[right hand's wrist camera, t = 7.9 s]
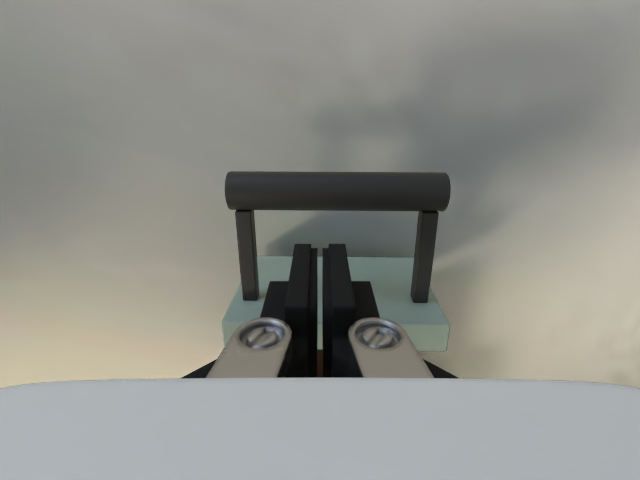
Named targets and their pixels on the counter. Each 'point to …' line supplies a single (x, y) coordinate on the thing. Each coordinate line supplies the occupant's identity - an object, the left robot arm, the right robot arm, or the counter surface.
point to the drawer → (383, 272)
